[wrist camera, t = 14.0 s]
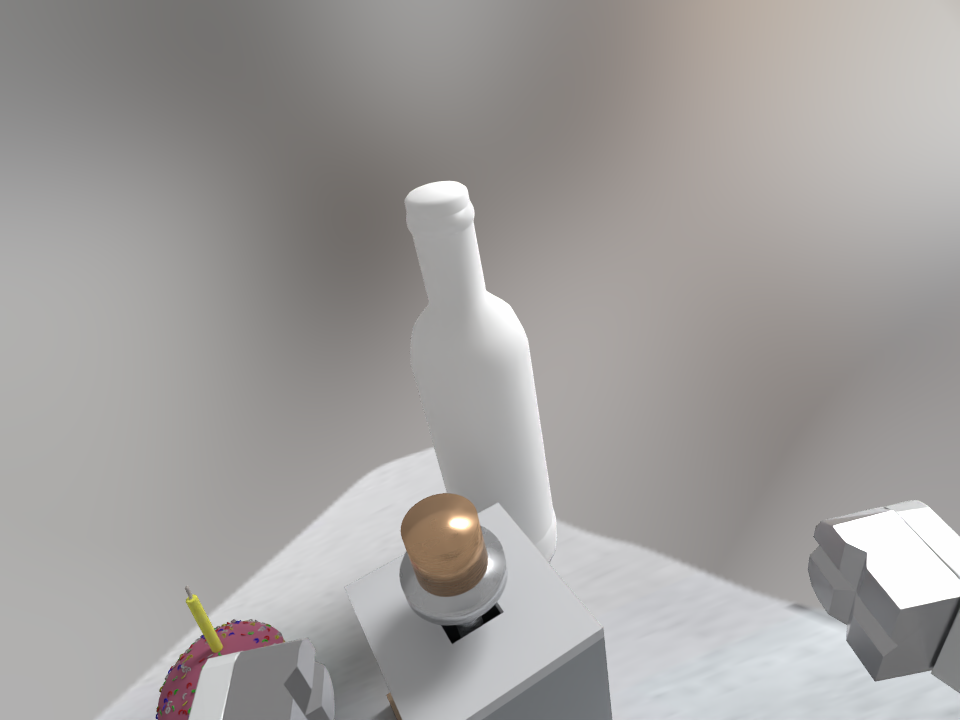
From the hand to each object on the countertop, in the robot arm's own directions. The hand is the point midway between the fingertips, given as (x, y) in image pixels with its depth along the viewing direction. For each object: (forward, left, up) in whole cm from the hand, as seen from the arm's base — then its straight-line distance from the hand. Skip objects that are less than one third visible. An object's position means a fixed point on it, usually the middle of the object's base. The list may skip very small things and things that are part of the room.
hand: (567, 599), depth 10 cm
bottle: (-10, -26, -32) cm, 43 cm away
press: (-2, -14, -32) cm, 35 cm away
